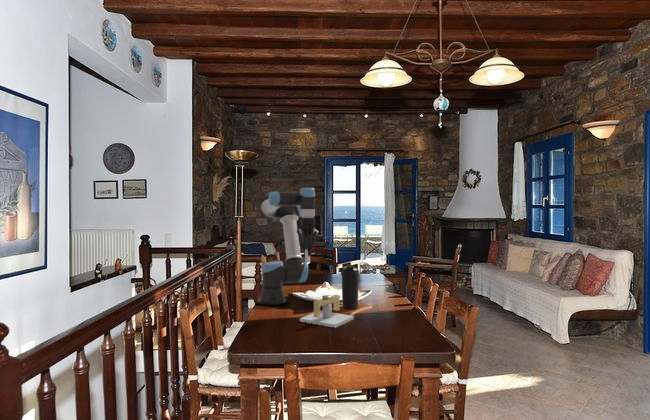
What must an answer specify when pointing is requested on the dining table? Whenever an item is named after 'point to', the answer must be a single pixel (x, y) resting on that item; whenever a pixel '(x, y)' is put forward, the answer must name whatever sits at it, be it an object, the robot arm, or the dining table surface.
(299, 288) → the dining table surface
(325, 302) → the yellow u-shaped block
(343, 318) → the base
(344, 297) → the water bottle
